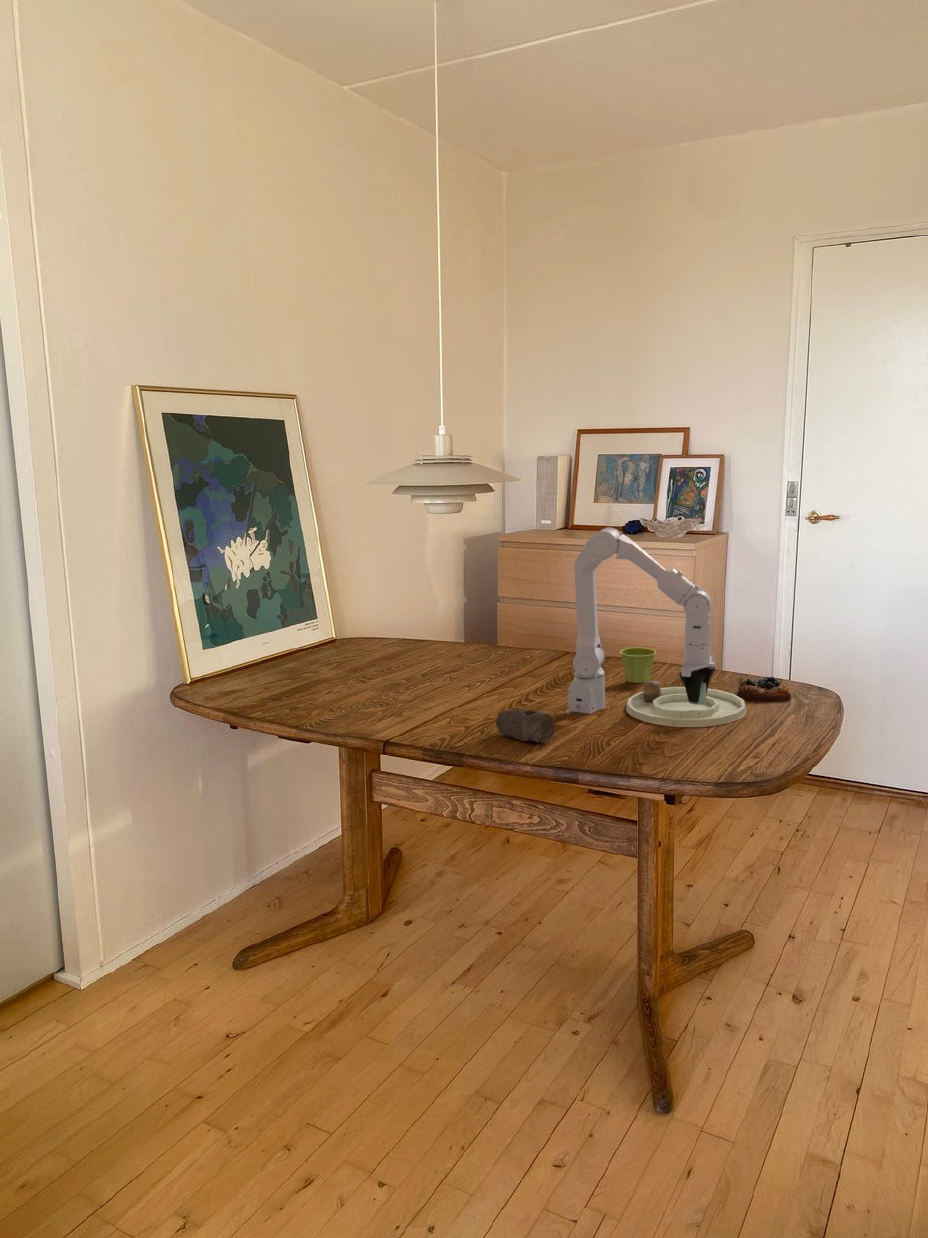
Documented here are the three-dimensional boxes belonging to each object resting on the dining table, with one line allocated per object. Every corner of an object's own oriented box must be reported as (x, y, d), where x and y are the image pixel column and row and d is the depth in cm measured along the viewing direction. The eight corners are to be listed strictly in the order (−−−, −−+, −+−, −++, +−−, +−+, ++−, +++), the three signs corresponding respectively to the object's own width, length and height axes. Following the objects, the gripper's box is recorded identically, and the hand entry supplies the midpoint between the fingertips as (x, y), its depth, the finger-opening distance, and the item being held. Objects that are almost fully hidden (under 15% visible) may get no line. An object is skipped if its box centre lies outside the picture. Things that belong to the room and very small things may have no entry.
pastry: (733, 694, 234) (733, 672, 233) (782, 693, 234) (782, 670, 233) (744, 707, 224) (745, 683, 222) (795, 705, 223) (796, 681, 222)
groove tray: (721, 738, 202) (721, 726, 202) (606, 720, 218) (605, 710, 217) (762, 704, 224) (763, 694, 223) (655, 691, 240) (655, 681, 239)
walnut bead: (656, 703, 226) (656, 685, 225) (641, 701, 228) (640, 683, 227) (663, 699, 229) (663, 681, 228) (648, 697, 231) (647, 679, 230)
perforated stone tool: (489, 736, 211) (488, 706, 210) (504, 730, 215) (503, 701, 213) (542, 749, 201) (541, 718, 200) (557, 742, 205) (556, 712, 203)
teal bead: (702, 705, 216) (702, 686, 215) (685, 703, 218) (685, 684, 217) (708, 701, 219) (708, 682, 218) (692, 698, 221) (692, 680, 220)
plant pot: (654, 678, 252) (654, 646, 250) (658, 687, 243) (657, 655, 241) (619, 679, 253) (618, 647, 252) (621, 688, 244) (621, 656, 242)
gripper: (702, 651, 208) (701, 710, 210) (725, 638, 219) (724, 694, 222) (672, 648, 212) (672, 705, 215) (696, 635, 223) (696, 690, 226)
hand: (697, 699), depth 219 cm, fingers closed on teal bead, 4 cm apart
